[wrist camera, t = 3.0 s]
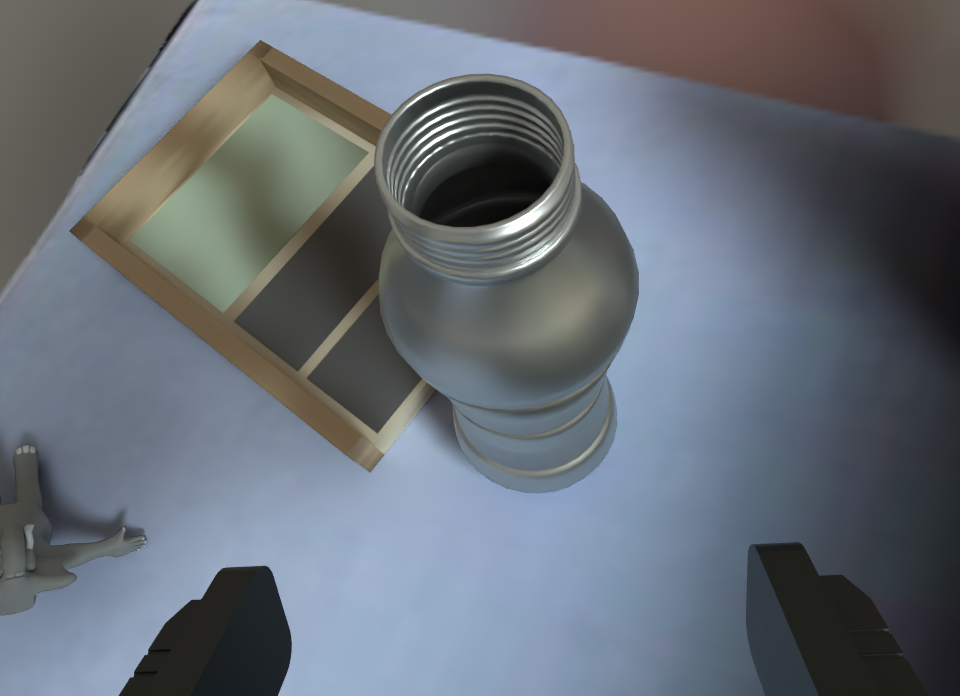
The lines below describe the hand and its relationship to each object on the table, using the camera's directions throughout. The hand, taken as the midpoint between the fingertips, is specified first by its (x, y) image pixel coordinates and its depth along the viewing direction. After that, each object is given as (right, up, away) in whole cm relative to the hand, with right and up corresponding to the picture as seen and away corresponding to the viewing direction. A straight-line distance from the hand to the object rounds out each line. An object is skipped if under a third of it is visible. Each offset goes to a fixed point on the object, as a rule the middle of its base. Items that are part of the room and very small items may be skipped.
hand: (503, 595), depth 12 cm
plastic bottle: (+2, 0, +20) cm, 20 cm away
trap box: (-8, +9, +24) cm, 27 cm away
